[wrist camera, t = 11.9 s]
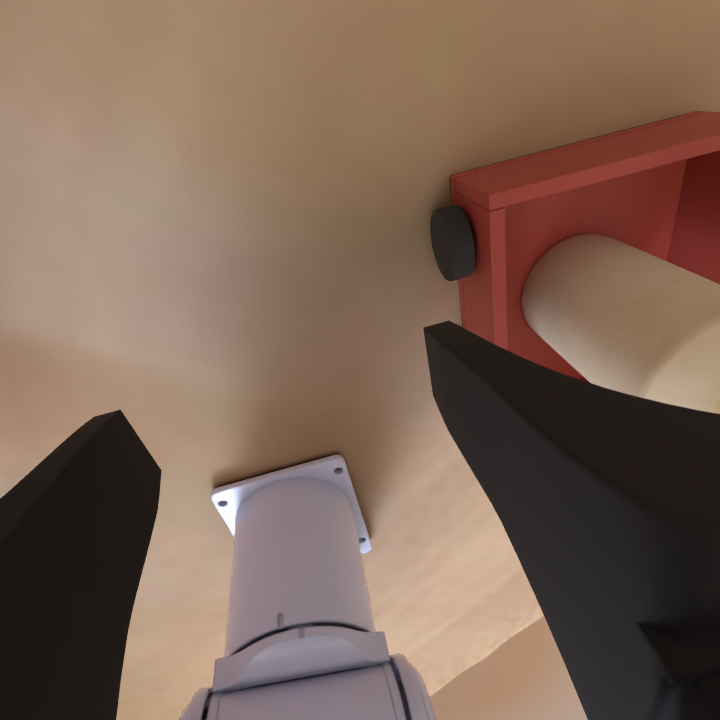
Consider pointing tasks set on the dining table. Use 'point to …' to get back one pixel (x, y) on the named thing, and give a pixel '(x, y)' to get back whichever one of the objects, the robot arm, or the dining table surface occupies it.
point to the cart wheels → (452, 243)
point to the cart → (588, 216)
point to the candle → (628, 320)
